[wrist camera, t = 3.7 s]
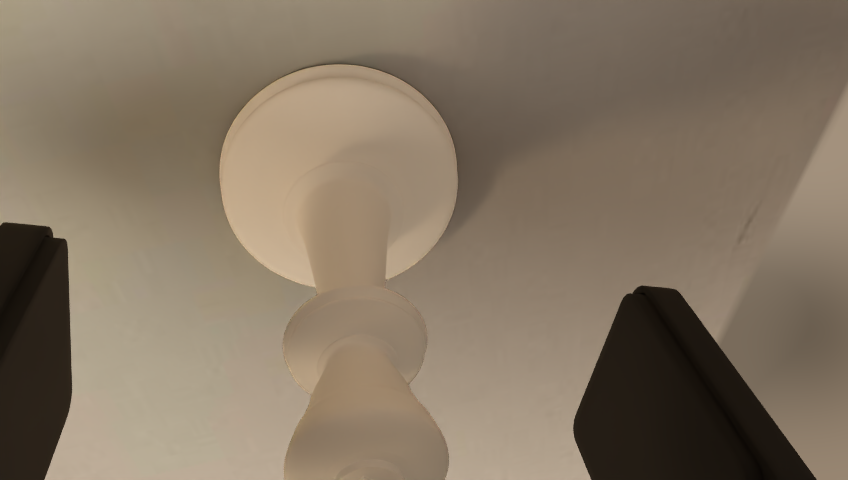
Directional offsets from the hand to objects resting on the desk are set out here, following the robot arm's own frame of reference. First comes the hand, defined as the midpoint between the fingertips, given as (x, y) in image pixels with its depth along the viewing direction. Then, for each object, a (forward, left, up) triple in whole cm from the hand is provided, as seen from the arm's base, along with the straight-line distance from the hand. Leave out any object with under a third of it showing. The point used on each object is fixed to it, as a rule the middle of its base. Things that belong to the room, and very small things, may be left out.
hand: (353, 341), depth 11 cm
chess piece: (0, 0, -6) cm, 6 cm away
